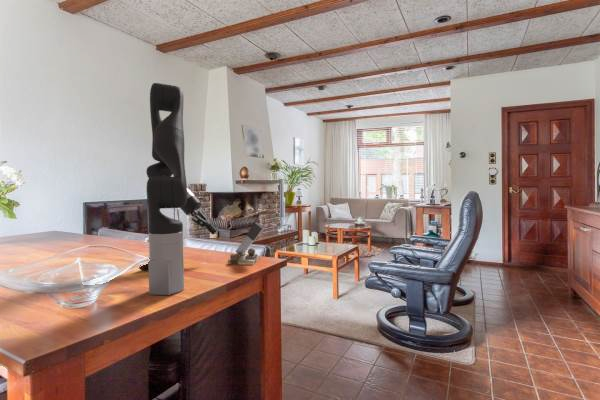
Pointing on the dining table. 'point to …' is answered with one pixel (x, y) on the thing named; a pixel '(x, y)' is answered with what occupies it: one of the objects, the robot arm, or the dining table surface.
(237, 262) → the cracker base
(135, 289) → the dining table surface
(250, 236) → the lever
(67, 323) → the dining table surface
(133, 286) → the dining table surface
